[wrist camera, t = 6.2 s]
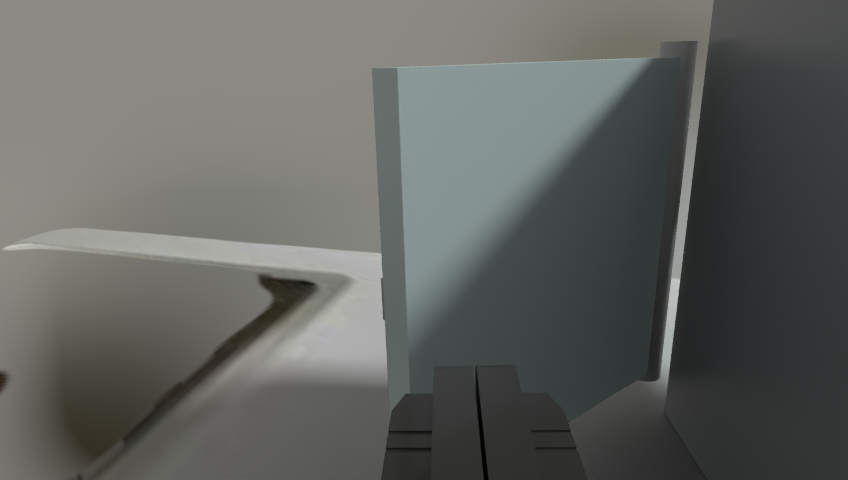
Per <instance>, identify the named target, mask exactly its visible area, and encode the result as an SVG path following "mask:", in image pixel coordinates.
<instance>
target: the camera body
mask: <svg viewBox="0 0 848 480" xmlns="http://www.w3.org/2000/svg"><path fill="white" fill-rule="evenodd" d="M713 4H714V5H713V12H712V21H711V29H710V37H709V45H708V54H707V62H706V71H705V79H704V87H703V96H702V104H701V113H700V120H699V129H698V137H697V145H696V155H695V162H694V170H693V179H692V187H691V196H690V204H689V212H688V221H687V229H686V237H685V246H684V254H683V263H682V272H681V279H680V287H679V296H678V304H677V312H676V321H675V329H674V337H673V346H672V354H671V362H670V371H669V379H668V387H667V396H666V404H665V413H666V415H667V417H668V418H669V420H670V421H671V423H672V425H673V426H674V428H675V429H676V431H677V433H678V434H679V436H680V438H681V439H682V441H683V442H684V444H685V446H686V447H687V449H688V450H689V452H690V454H691V455H692V457H693V458H694V460H695V462H696V463H697V465H698V466H699V468H700V470H701V471H702V473H703V475H704V476H705V478H706V479H707V480H848V0H714V3H713Z"/></svg>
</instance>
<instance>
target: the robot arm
mask: <svg viewBox="0 0 848 480" xmlns="http://www.w3.org/2000/svg"><path fill="white" fill-rule="evenodd" d="M381 480H587V478H586V475H585V472H584V469H583V466H582V463H581V460H580V457H579V454H578V452H577V451H576V445H575V442H574V439H573V436H572V434H571V433H570V428H569V425H568V422H567V419H566V416H565V413H564V410H563V409H562V408H561V407H560V406H559V405H558V404H557V403H556V402H555V401H554V400H553V399H552V398H551V397H550V396H549V395H548V394H547V393H522V391H521V387H520V382H519V378H518V374H517V369H516V366H515V365H487V366H476V369H475V383H474V373H473V366H434V380H433V393H426V394H405V395H404V396H403V397H402V398H401V400H400V401H399V402H398V403H397V405H396V406H395V407H394V408H393V410H392V411H391V418H390V424H389V435H388V438H387V445H386V452H385V459H384V465H383V472H382V479H381Z"/></svg>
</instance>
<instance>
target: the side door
mask: <svg viewBox="0 0 848 480" xmlns="http://www.w3.org/2000/svg"><path fill="white" fill-rule="evenodd" d="M697 46H698V41H681V42H660V50H659V58H634V59H633V58H632V59H605V60H579V61H552V62H525V63H498V64H474V65H473V64H472V65H447V66H446V65H445V66H418V67H393V68H392V67H391V68H372V78H373V95H374V115H375V136H376V155H377V174H378V194H379V214H380V233H381V252H382V272H383V278H381V287H382V306H383V320H385V330H386V349H387V368H388V388H389V407H390V418H391V411H392V410H393V408H394V407H395V406H396V405H397V403H398V402H399V401H400V400H401V398H402V397H403V396H404V395H405V394H426V393H433V380H434V366H473V373H474V383H475V369H476V366H487V365H515V366H516V369H517V374H518V378H519V382H520V387H521V391H522V393H547V394H548V395H549V396H550V397H551V398H552V399H553V400H554V401H555V402H556V403H557V404H558V405H559V406H560V407H561V408H562V409H563V410H564V413H565V416H566V419H567V422H569V421H571V420H572V419H574V418H576V417H577V416H579V415H581V414H582V413H584V412H585V411H587V410H589V409H590V408H592V407H594V406H595V405H597V404H598V403H600V402H602V401H603V400H605V399H607V398H608V397H610V396H612V395H613V394H615V393H616V392H618V391H620V390H621V389H623V388H625V387H626V386H628V385H629V384H631V383H633V382H634V381H636V380H641V381H648V382H650V381H656V380H658V379H659V378H660V370H661V362H662V353H663V344H664V335H665V327H666V318H667V309H668V300H669V292H670V283H671V274H672V265H673V256H674V248H675V239H676V229H677V221H678V212H679V203H680V195H681V187H682V178H683V169H684V160H685V151H686V142H687V134H688V125H689V116H690V108H691V99H692V91H693V82H694V73H695V64H696V56H697V55H696V54H697Z"/></svg>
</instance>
